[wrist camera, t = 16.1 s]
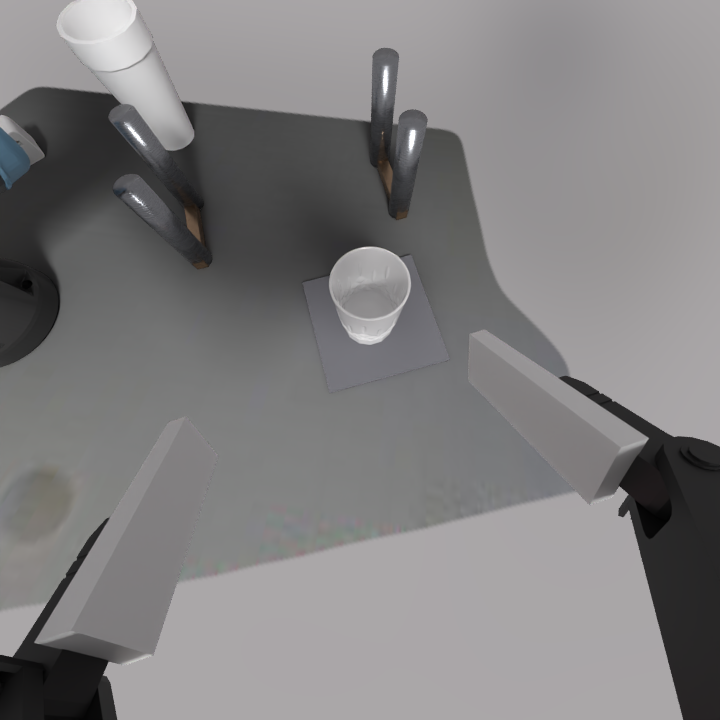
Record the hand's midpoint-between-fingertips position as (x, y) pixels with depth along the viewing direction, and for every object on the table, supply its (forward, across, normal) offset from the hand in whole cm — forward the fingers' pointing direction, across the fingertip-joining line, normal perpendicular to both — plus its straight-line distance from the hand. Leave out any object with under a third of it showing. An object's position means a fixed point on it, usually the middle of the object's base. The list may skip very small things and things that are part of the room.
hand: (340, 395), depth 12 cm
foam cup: (+52, -16, +21) cm, 58 cm away
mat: (+22, +6, -7) cm, 24 cm away
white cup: (+22, +5, -7) cm, 24 cm away
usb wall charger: (+56, -40, +24) cm, 73 cm away
